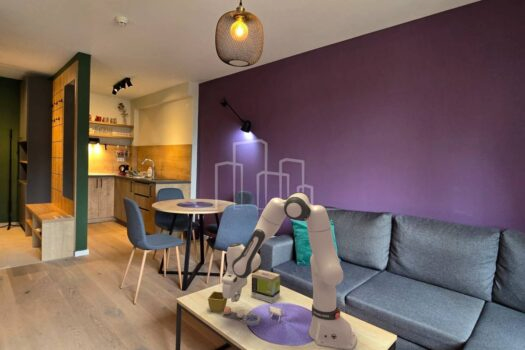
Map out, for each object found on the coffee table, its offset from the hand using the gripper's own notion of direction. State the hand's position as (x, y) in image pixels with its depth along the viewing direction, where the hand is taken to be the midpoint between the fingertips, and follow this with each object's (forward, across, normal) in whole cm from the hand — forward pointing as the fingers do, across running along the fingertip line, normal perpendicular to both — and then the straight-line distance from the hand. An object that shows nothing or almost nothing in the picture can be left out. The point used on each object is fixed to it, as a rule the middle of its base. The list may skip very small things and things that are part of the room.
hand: (235, 299), depth 159 cm
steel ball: (+1, 0, 0) cm, 1 cm away
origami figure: (+11, -9, +19) cm, 24 cm away
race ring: (+10, +1, +10) cm, 14 cm away
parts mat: (+10, +1, -1) cm, 10 cm away
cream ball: (+9, +1, +3) cm, 10 cm away
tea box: (+11, -28, +4) cm, 31 cm away
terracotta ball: (+9, +1, -5) cm, 10 cm away
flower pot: (+10, -1, -12) cm, 16 cm away
